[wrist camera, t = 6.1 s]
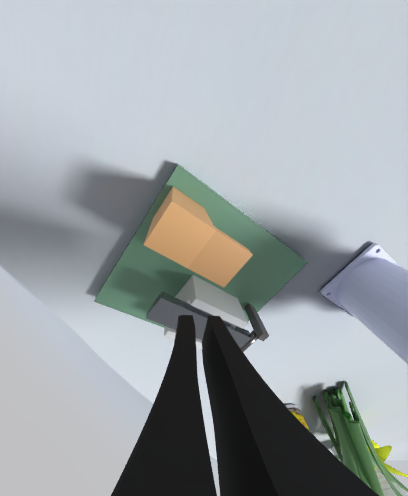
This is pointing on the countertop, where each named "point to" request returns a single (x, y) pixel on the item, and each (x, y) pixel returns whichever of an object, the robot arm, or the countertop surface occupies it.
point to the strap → (171, 307)
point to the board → (192, 284)
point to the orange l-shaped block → (194, 240)
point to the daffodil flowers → (357, 443)
